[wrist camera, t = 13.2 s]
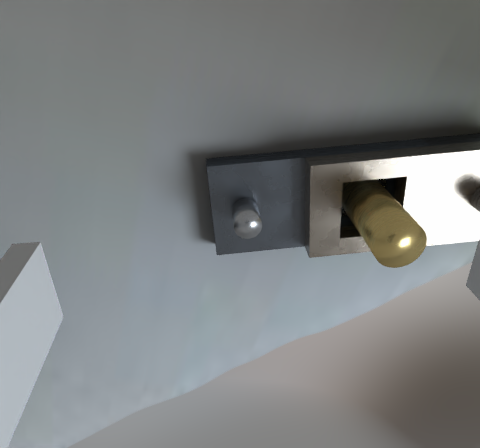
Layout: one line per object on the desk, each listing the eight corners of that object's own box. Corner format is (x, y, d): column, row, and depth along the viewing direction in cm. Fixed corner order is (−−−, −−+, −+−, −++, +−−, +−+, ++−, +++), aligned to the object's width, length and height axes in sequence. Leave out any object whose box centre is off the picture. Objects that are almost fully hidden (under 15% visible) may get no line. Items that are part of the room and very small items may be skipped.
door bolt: (216, 244, 41) (218, 287, 35) (206, 158, 37) (206, 191, 31) (470, 218, 42) (515, 256, 36) (490, 132, 38) (545, 158, 32)
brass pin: (335, 210, 41) (371, 270, 32) (337, 172, 39) (376, 225, 30) (375, 206, 41) (422, 264, 32) (379, 168, 39) (430, 219, 30)
